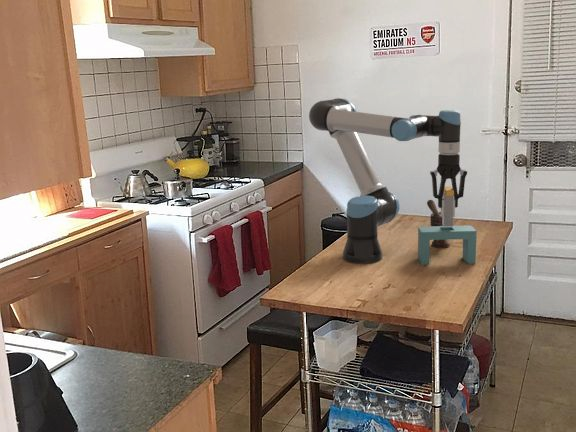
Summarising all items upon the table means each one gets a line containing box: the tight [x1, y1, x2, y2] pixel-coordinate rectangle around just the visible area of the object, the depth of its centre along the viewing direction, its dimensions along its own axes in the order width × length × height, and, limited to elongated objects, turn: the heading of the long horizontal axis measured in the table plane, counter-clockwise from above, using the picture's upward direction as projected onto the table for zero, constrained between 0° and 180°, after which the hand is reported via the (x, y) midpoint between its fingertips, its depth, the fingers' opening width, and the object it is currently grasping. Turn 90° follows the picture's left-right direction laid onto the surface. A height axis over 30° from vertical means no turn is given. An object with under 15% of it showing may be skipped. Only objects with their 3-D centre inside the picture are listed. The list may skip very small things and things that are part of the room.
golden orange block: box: [442, 186, 454, 227], centre depth 245 cm, size 3×7×14 cm, turn 178°
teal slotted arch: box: [417, 225, 478, 266], centre depth 249 cm, size 20×8×12 cm, turn 88°
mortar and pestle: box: [426, 199, 451, 249], centre depth 266 cm, size 12×9×20 cm
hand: (447, 216), depth 246 cm, fingers closed on golden orange block, 3 cm apart
